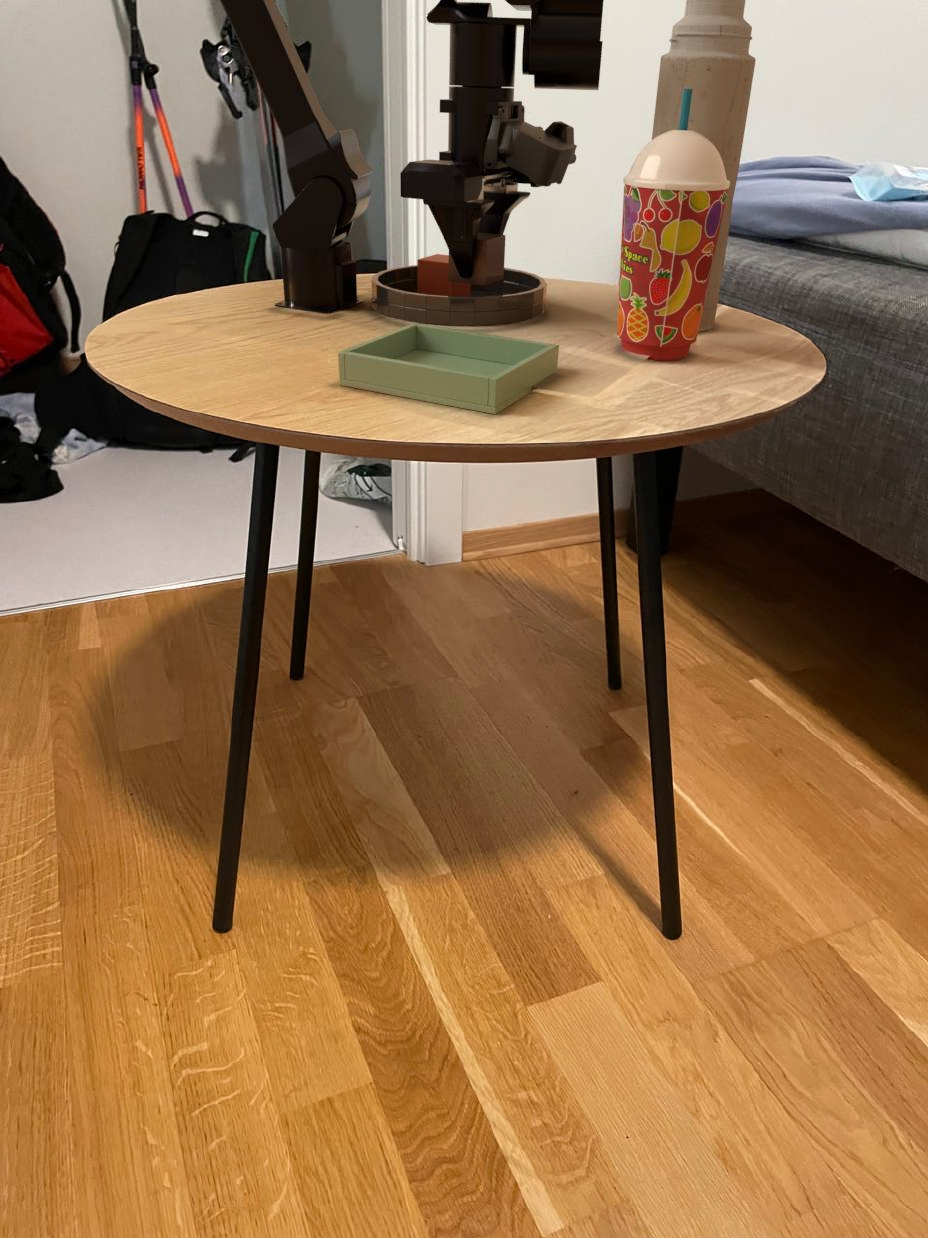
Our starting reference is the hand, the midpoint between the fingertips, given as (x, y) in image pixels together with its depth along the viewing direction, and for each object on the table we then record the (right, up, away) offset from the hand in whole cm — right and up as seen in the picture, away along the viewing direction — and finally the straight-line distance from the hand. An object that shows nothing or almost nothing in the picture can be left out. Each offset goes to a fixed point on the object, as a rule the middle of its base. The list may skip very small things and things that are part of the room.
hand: (476, 274), depth 89 cm
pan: (-2, -2, +4) cm, 5 cm away
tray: (-2, -15, -17) cm, 23 cm away
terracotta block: (-3, 0, +6) cm, 7 cm away
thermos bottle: (+19, -4, +2) cm, 20 cm away
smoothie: (+15, -10, -8) cm, 20 cm away
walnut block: (0, 0, 0) cm, 0 cm away
